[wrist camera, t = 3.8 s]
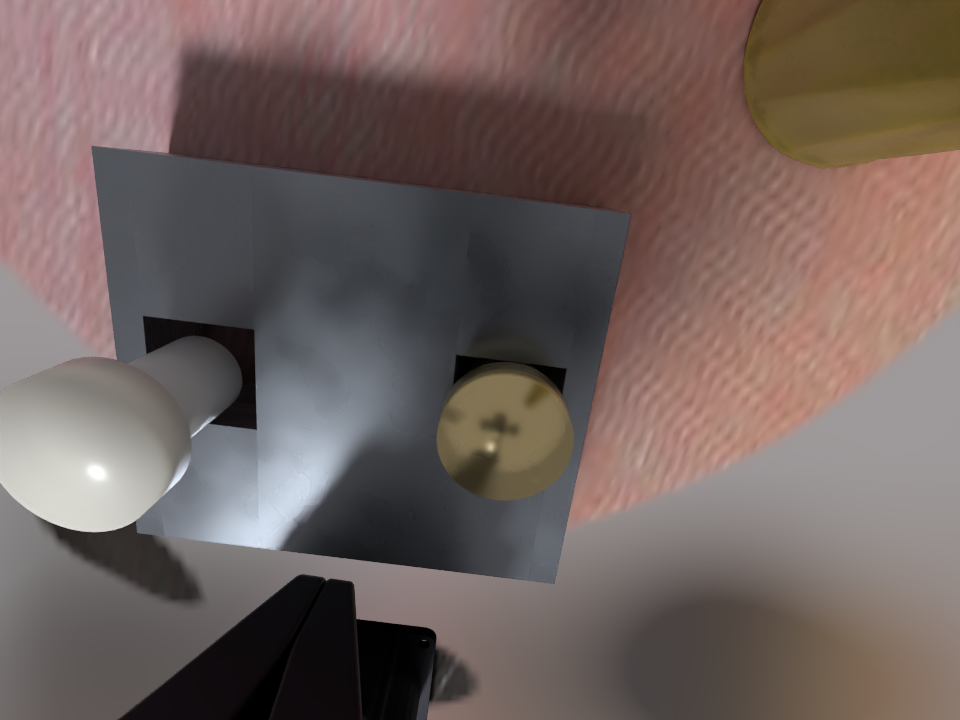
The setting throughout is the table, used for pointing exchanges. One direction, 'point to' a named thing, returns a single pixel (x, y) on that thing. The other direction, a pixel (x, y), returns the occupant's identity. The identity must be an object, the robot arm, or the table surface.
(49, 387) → the knob ivory
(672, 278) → the table surface
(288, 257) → the mount
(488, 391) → the knob brass
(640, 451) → the table surface
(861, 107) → the vase
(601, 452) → the table surface
